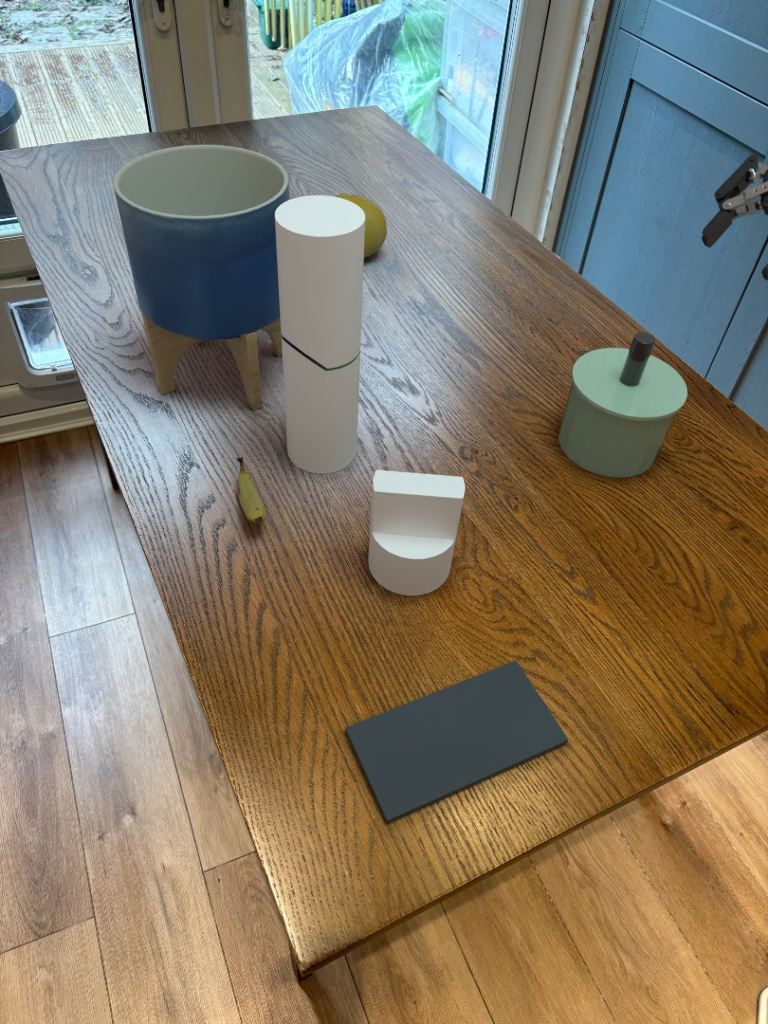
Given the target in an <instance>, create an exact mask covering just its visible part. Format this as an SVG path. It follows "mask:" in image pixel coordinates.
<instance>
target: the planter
mask: <svg viewBox="0 0 768 1024" xmlns="http://www.w3.org/2000/svg"><path fill="white" fill-rule="evenodd" d="M289 179H290V178H289V176H288V172H287V171H286V170H285V168H284V166H282V164H280V163H279V162H277V161H276V160H275V159H273V158H271V157H269V156H267V155H265V154H263V153H261V152H257V151H254V150H251V149H246V148H241V147H237V146H230V145H223V144H222V145H221V144H189V145H188V144H187V145H179V146H173V147H172V146H171V147H166V148H162V149H157V150H154V151H150V152H147V153H145V154H142V155H140V156H137V157H135V158H133V159H131V160H130V161H128V162H127V163H125V164H124V165H123V166H122V167H120V168H119V170H118V171H117V172H116V173H115V176H114V178H113V191H114V196H115V199H116V205H117V210H118V213H119V219H120V223H121V228H122V234H123V238H124V243H125V247H126V252H127V256H128V257H127V258H128V261H129V266H130V272H131V276H132V280H133V285H134V289H135V294H136V299H137V304H138V307H139V309H140V311H141V317H142V321H143V327H144V330H145V331H144V332H145V335H146V341H147V345H148V350H149V355H150V359H151V364H152V368H153V369H152V370H153V374H154V379H155V383H156V387H157V388H156V389H157V391H158V392H159V393H160V395H161V396H163V395H165V394H169V393H172V392H175V391H176V387H175V380H176V379H175V378H176V373H177V369H178V366H179V364H180V363H181V360H182V358H183V357H184V355H185V354H186V352H187V351H188V350H189V349H190V348H191V347H192V346H193V345H194V344H195V343H197V344H198V345H199V344H202V343H205V342H208V341H225V342H226V343H227V345H228V346H229V349H230V351H231V353H232V355H233V358H234V360H235V362H236V365H237V367H238V370H239V373H240V377H241V380H242V383H243V387H244V392H245V397H246V403H247V405H248V406H249V408H250V409H252V411H257V410H260V409H262V408H263V407H264V405H263V404H264V403H263V394H262V393H263V392H262V383H261V370H260V369H261V368H260V359H259V358H260V357H259V348H258V336H257V335H258V333H257V332H258V331H260V330H262V331H263V332H265V333H266V334H267V335H268V337H269V339H270V341H271V344H272V347H273V353H274V354H275V355H276V356H277V357H278V358H280V357H282V339H281V337H284V336H283V335H282V334H281V321H280V302H279V283H278V265H277V246H276V227H275V211H276V209H277V208H278V207H279V206H280V205H281V204H283V203H284V202H286V201H288V200H290V182H289ZM284 338H285V337H284Z"/></svg>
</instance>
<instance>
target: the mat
mask: <svg viewBox="0 0 768 1024" xmlns="http://www.w3.org/2000/svg"><path fill="white" fill-rule="evenodd" d="M344 730H345V735H346V737H347V739H348V741H349V743H350V745H351V747H352V750H353V752H354V754H355V756H356V759H357V761H358V763H359V765H360V767H361V770H362V772H363V774H364V776H365V779H366V781H367V783H368V785H369V788H370V790H371V792H372V794H373V797H374V798H375V801H376V803H377V805H378V808H379V811H380V812H381V814H382V817H383V819H384V821H385V823H386V824H390V823H393V822H395V821H397V820H399V819H401V818H404V817H407V816H409V815H411V814H413V813H415V812H418V811H419V810H422V809H424V808H426V807H429V806H431V805H432V804H435V803H437V802H440V801H442V800H444V799H446V798H449V797H451V796H453V795H455V794H457V793H459V792H462V791H464V790H466V789H468V788H470V787H473V786H475V785H477V784H480V783H482V782H484V781H486V780H489V779H491V778H493V777H495V776H498V775H500V774H502V773H504V772H506V771H508V770H511V769H513V768H515V767H517V766H521V765H523V764H524V763H527V762H529V761H531V760H533V759H535V758H538V757H540V756H542V755H544V754H547V753H549V752H551V751H554V750H555V749H557V748H560V747H563V746H564V745H567V744H568V742H569V738H568V736H567V735H566V734H565V732H564V731H563V729H562V727H561V726H560V725H559V723H558V721H557V720H556V719H555V717H554V716H553V714H552V712H551V711H550V709H549V707H548V706H547V705H546V703H545V701H544V700H543V698H542V697H541V695H540V694H539V692H538V691H537V689H536V688H535V687H534V684H533V683H532V682H531V680H530V679H529V677H528V676H527V675H526V672H525V671H524V669H523V668H522V667H521V665H520V663H519V662H518V660H513V661H510V662H508V663H505V664H502V665H500V666H497V667H495V668H493V669H490V670H488V671H485V672H483V673H480V674H478V675H475V676H472V677H470V678H467V679H465V680H462V681H460V682H457V683H454V684H452V685H450V686H447V687H444V688H442V689H439V690H437V691H434V692H432V693H429V694H427V695H424V696H422V697H419V698H416V699H414V700H411V701H409V702H406V703H404V704H402V705H399V706H397V707H394V708H391V709H388V710H386V711H384V712H383V711H382V712H381V713H378V714H376V715H374V716H371V717H369V718H366V719H363V720H361V721H358V722H355V723H353V724H351V725H348V726H345V729H344Z"/></svg>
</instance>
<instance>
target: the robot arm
mask: <svg viewBox="0 0 768 1024" xmlns="http://www.w3.org/2000/svg"><path fill="white" fill-rule="evenodd" d="M760 179H762V183H759V184H756V183H757V181H759V180H760ZM751 184H753V185H754V184H756V185H754V186H752V187H749V186H750V185H751ZM748 187H749V188H748ZM713 196H714V199H715V201H716V205H717V207H718V209H719V210H718V212H717V213H716V214H715V215H714V216H713V217H712V218H711V220H709V222H708V223H707V224H706V225H705V227H704V228H703V229H702V232H701V233H702V236H701V241H702V244H703V245H704V246H706V247H707V248H709V249H711V248H712V247H713V246H714V245H715V244H716V243H717V242H718V240H719V239H720V238H721V237H722V236H723V234H725V232H726V231H727V230H728V229H729V228H730V227H731V226H732V225H733V221H734V220H737V219H740V218H742V217H745V216H747V215H749V216H754V215H757V214H759V213H762V212H764V215H766V216H768V165H767V164H765V163H764V162H761V161H760V157H759V155H757V154H751V155H749V156H748V157H747V158H746V159H745V160H744V161H743V162H742V163H741V164H740V165H739V167H738V168H736V169H735V170H734V172H733V173H732V174H730V176H729V177H728V178H727V179H726V180H725V181H724V182H723V183H722V184H721V185H720V186H719V187H718V188H717V189H716V190H715V192H714V194H713ZM758 198H759V199H760V200H756V199H758ZM761 275H762V278H763V279H764V280H765V281H767V282H768V263H766V265H765V266H764V267H763V268H762V270H761Z"/></svg>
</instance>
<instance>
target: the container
mask: <svg viewBox="0 0 768 1024" xmlns="http://www.w3.org/2000/svg"><path fill="white" fill-rule="evenodd" d="M275 227H276V246H277V265H278V283H279V302H280V321H281V334H282V335H283V336H284V337H285V338H284V337H281V339H282V356H281V358H282V375H283V392H284V393H283V394H284V411H285V414H284V415H285V429H286V431H285V432H286V449H287V450H286V451H287V456H288V458H289V460H290V461H291V462H292V464H293V465H295V467H297V468H298V469H301V470H302V471H305V472H307V473H312V474H319V475H324V474H333V473H337V472H340V471H342V470H344V469H345V468H347V467H349V466H350V465H351V464H352V463H353V462H354V460H355V458H356V457H357V453H358V451H357V450H358V426H359V425H358V424H359V400H360V399H359V397H360V394H359V393H360V372H361V371H360V369H361V343H362V342H361V341H362V318H363V317H362V316H363V315H362V313H363V292H364V291H363V288H364V287H363V286H364V263H365V262H364V261H365V258H364V237H365V214H364V212H363V210H362V209H361V208H360V207H359V206H358V205H356V204H354V203H353V202H350V201H348V200H345V199H342V198H338V197H335V196H331V195H321V194H319V195H318V194H317V195H316V194H314V195H313V194H312V195H304V196H298V197H294V198H290V199H289V200H288V201H286V202H284V203H283V204H281V205H280V206H279V207H278V208H277V209H276V211H275Z"/></svg>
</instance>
